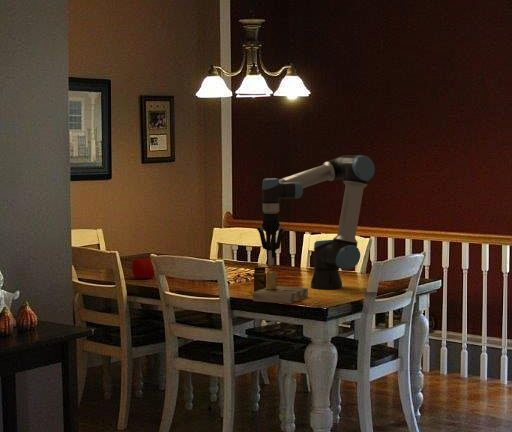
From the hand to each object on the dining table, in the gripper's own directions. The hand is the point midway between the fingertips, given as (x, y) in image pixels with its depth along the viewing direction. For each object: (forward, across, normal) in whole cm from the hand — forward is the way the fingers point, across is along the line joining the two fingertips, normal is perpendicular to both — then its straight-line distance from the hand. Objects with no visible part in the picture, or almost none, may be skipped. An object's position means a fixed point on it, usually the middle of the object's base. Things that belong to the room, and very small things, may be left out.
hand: (271, 264), depth 448 cm
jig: (+15, +4, 0) cm, 16 cm away
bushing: (+15, 0, 0) cm, 15 cm away
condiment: (+16, -13, +14) cm, 25 cm away
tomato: (+16, -89, +34) cm, 97 cm away
